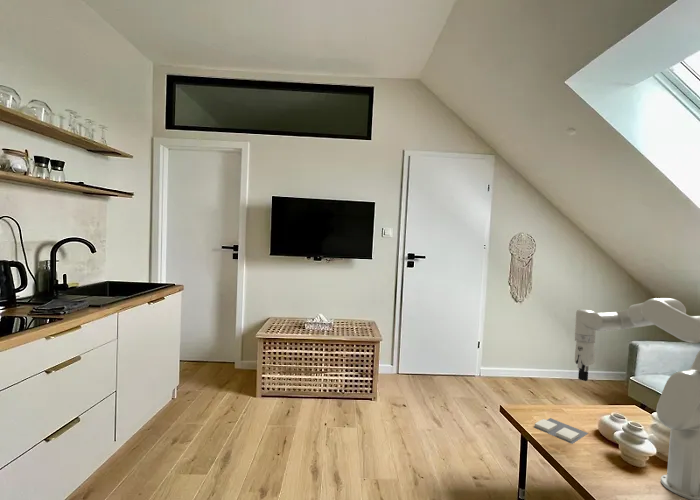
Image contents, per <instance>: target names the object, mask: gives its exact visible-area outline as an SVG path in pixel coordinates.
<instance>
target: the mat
mask: <svg viewBox="0 0 700 500" xmlns="http://www.w3.org/2000/svg"><path fill="white" fill-rule="evenodd" d="M546 420H547V421H550V422H552V423H555V424H557V428H555V429H553V430H551V431H550V432H547V431H545V430H543V429H540V428H538V427H536V426H535V425H534V426H533V428H534V429H537V430H539V431H541V432H543V433H546V434H548V435H551V436H552V437H555V438H556V439H557V438H558V439H559V440H562V441H565V442H566V443H569V444H571V445H573V444H575V443H577V442H578V441H580V440H581V439H582V438H584V437H586V436H587V435H588V434H589V432H586V431H584V430H581V429H579V428H576V427H574V426H571V425H569V424H568V423H564V422H561V421H558V420H557V419H554V418H551V417H550V418H548V419H546ZM564 427H565V428H567V429H570V430H572V431H574V432H577V433H579V437H577V438H576V439H574V440H573V441H571V442H570V441H568V440H566V439H563V438H561V437H559V436H556V432H558V431H559V430H561V429H563V428H564Z"/></svg>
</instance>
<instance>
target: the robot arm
mask: <svg viewBox="0 0 700 500" xmlns="http://www.w3.org/2000/svg"><path fill="white" fill-rule="evenodd" d="M648 326H656V327H657V328H659V329H661V330H663V331H665V332H666V333H668V334H670V335H672V336H674V337H675V338H676V339H679V340H681V341H684V342H686V343H690V344H698V343H699V344H700V315H689V314H687V308H686V306H685V305H684V304H683V302H681V301H680V300H678V299H675V298H670V297H660V298H659V297H658V298H657V297H655V298H649V299H647V300H645V301H644V302H641V303H640V302H639V303H635V304H631V305H630V306H629V307H628V309H623V310H618V311H611V312H610V311H605V312H604V311H602V312H601V311H600V312H596V311H594V310H591V309H584V308H583V309H582V308H581V309H577V310H576V312H575V328H574V329H575V330H574V341H576V342H575V352H574V363H575V364H576V365H577V366H576V367H577V368H578V376H577V379H578V380H580V381H584V382H587V381H588V380H589V367H590V366H591V365H593V364H594V363H595V360H596V359H595V358H596V357H595V350H596V349H595V343H596V331H597V332H604V331H620V330H625V329H626V330H627V329H632V328H633V329H634V328H642V327H648ZM655 409H656V411H655V412H656V415H657V418H658V419H659V421H660V423H661V424H662V425H664V426H665V427H667V428H668V429H670V433H669V443H668V446H669V447H668V457H667V468H666V470H667V471H666V474H663V475H661V476H660V483H661V484H662V485H663V486H664V488H666V489H668V490H669V491H670V492H672V493H673V494H676V495H678V496H680V497H683V498H685V499H687V500H700V350H699V351H698V352H697V354H696V356H695V358H694V360H693V362H692V365H691V366H690V368H689V369H686V370H680V371H676V372H675V373H673V374H672V375H670V376H669V378H668V379H667V380H666V383H665V385H664V387H663V390H662V392H661V394H660V396H659V399H658V402H657V404H656V408H655Z"/></svg>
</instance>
